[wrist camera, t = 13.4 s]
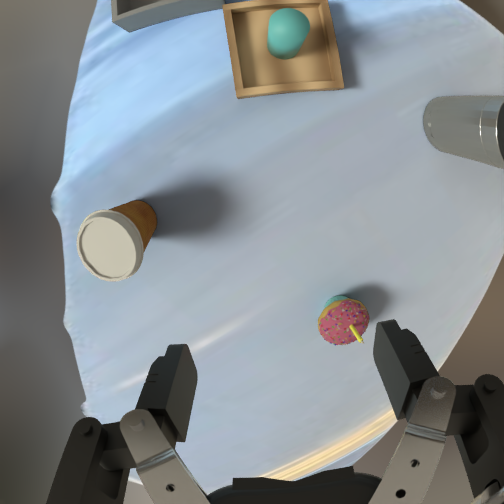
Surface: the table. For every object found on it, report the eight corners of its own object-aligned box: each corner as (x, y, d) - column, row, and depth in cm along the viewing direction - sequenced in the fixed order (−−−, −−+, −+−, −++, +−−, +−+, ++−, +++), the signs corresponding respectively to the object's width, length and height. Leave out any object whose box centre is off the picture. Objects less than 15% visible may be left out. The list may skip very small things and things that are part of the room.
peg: (296, 30, 32) (305, 6, 24) (302, 58, 34) (313, 40, 25) (264, 33, 32) (265, 10, 24) (269, 61, 34) (272, 43, 26)
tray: (322, 4, 31) (326, -3, 28) (338, 90, 36) (344, 87, 34) (224, 12, 32) (222, 4, 29) (238, 99, 37) (236, 97, 35)
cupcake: (328, 279, 48) (345, 324, 37) (370, 293, 49) (394, 337, 38) (306, 320, 51) (316, 368, 40) (346, 331, 52) (363, 377, 42)
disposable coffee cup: (105, 197, 43) (64, 221, 32) (158, 184, 42) (126, 205, 31) (121, 252, 47) (88, 288, 36) (173, 243, 46) (149, 280, 35)
